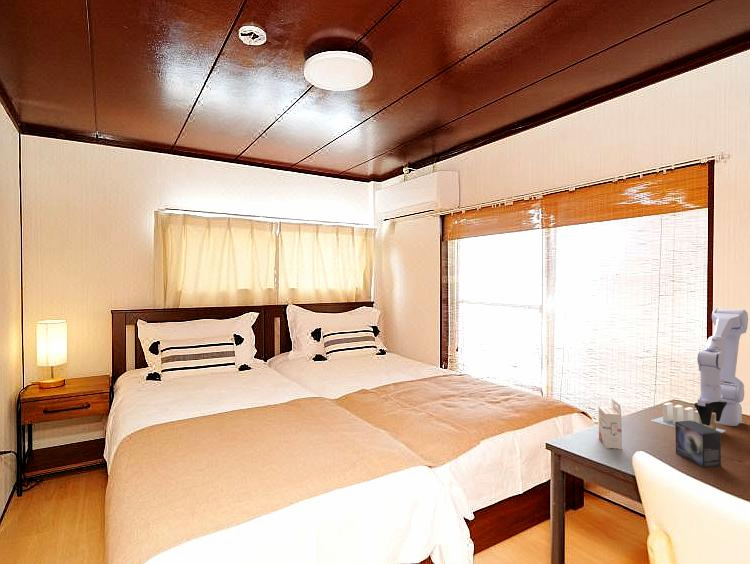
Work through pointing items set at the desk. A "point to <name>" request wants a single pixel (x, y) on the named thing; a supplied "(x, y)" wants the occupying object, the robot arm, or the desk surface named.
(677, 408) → the tile
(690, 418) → the tile
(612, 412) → the ink cartridge box
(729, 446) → the desk surface
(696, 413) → the tile
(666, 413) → the tile
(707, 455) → the small box
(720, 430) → the domino board
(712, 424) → the tile
